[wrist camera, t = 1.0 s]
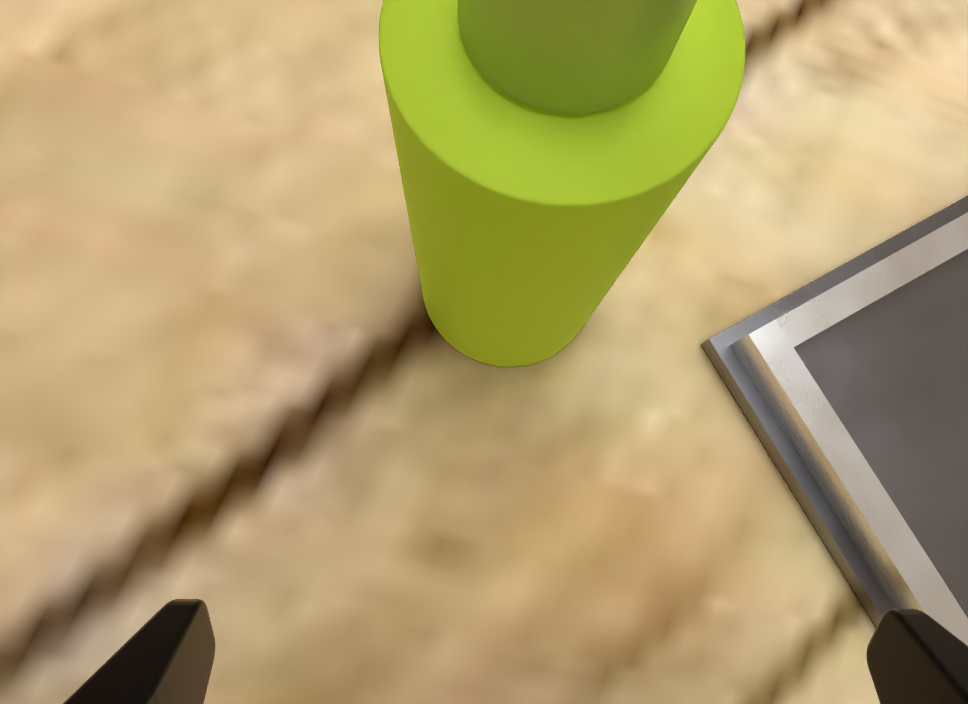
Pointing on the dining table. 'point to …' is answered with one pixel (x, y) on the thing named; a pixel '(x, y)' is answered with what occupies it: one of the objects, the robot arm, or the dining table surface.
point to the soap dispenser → (546, 149)
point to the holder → (873, 413)
